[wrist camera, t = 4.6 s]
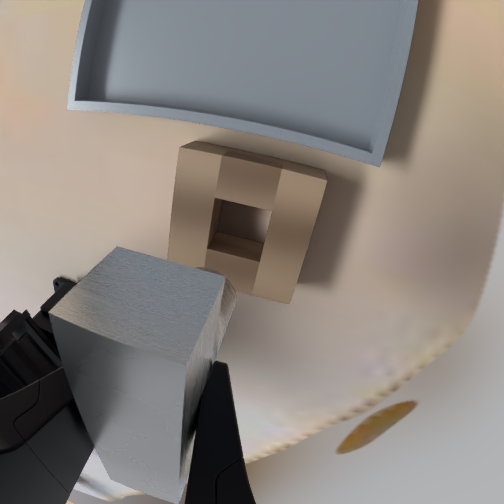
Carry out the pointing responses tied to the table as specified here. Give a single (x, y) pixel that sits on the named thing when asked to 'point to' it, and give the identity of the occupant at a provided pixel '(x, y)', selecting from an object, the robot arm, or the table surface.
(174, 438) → the gray rectangular block
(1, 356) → the robot arm
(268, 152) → the table surface
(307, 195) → the socket block
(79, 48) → the tray
